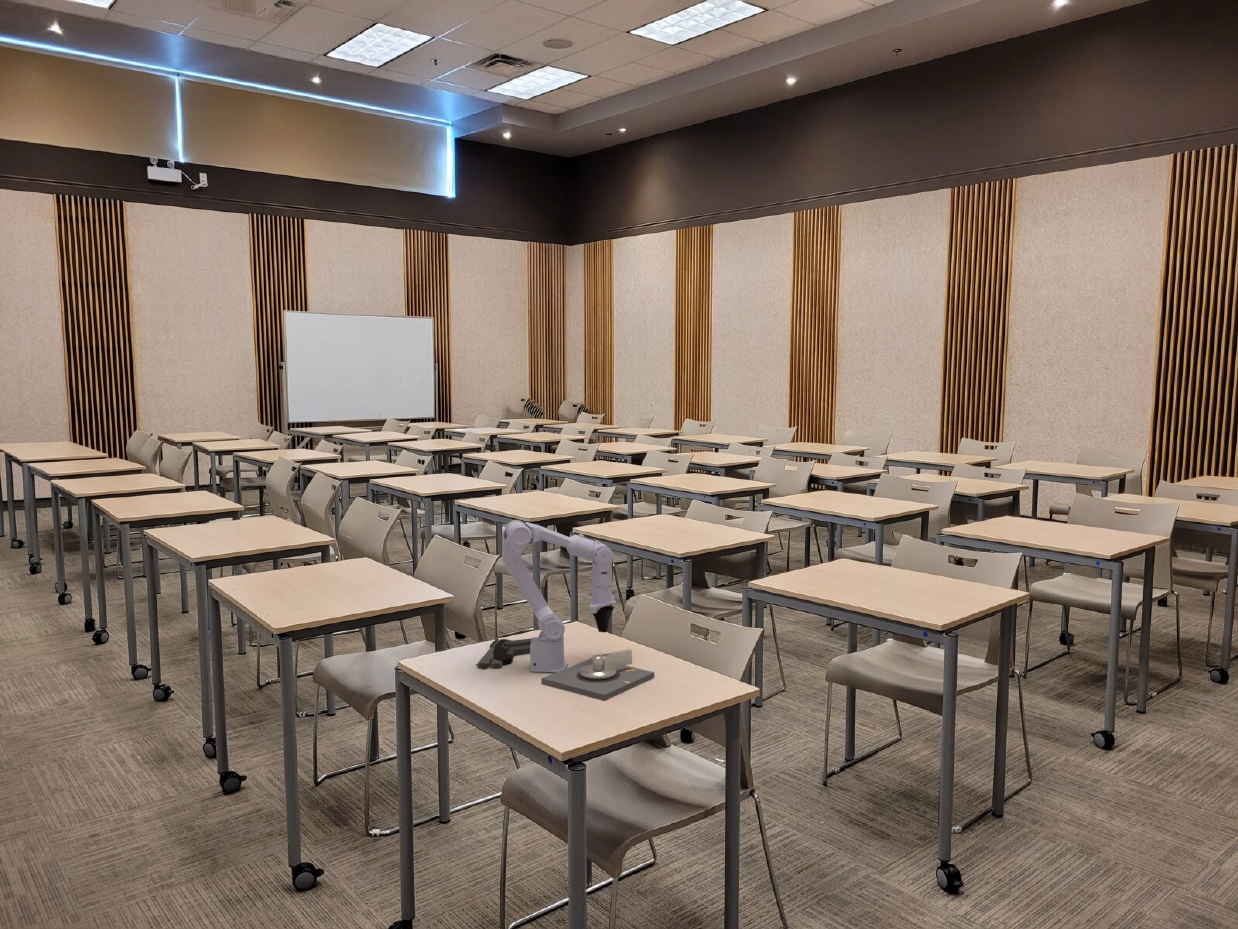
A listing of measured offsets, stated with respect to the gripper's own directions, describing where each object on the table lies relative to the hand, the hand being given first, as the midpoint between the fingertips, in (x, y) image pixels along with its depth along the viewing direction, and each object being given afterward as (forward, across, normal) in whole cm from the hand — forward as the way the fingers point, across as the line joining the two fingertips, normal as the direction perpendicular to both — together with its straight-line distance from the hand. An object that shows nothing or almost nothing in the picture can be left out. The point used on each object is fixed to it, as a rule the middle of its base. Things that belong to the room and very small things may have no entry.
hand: (602, 631), depth 255 cm
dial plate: (+9, -14, -5) cm, 18 cm away
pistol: (+10, -3, +29) cm, 31 cm away
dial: (+8, -12, -6) cm, 16 cm away
